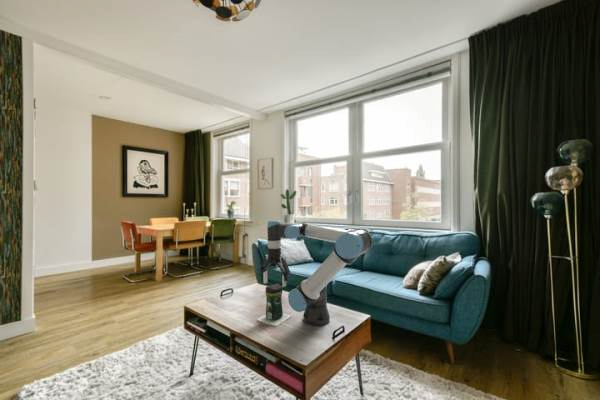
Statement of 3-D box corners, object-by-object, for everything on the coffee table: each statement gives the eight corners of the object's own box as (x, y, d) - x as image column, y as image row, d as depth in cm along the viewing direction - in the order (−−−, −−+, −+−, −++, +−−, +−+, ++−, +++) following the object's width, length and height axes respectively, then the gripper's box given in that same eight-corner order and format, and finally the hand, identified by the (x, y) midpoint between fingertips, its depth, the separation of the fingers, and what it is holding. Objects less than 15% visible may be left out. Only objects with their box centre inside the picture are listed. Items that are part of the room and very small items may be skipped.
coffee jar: (275, 312, 162) (275, 281, 162) (284, 316, 157) (284, 284, 157) (263, 317, 155) (262, 285, 156) (272, 322, 150) (272, 288, 150)
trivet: (291, 317, 158) (291, 315, 158) (276, 326, 146) (276, 325, 146) (272, 312, 166) (272, 310, 166) (256, 320, 154) (256, 319, 154)
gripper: (296, 248, 153) (296, 286, 152) (261, 245, 166) (262, 280, 166) (288, 250, 146) (289, 290, 146) (253, 246, 160) (253, 283, 159)
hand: (274, 284), depth 156 cm, fingers open, 13 cm apart
